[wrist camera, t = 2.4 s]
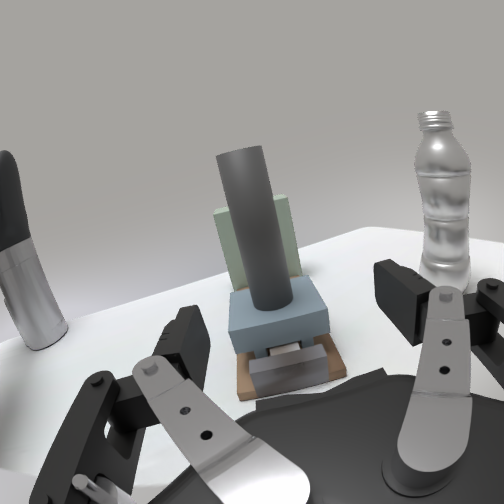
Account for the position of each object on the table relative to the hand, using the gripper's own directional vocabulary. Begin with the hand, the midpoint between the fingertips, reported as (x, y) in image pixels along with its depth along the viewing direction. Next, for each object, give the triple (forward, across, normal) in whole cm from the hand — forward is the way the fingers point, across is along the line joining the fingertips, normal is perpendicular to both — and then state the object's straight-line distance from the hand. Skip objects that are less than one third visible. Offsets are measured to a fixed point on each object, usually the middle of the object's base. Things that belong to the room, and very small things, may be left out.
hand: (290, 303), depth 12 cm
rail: (+16, +1, +11) cm, 19 cm away
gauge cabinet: (+28, +1, +11) cm, 30 cm away
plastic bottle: (+13, -19, +11) cm, 26 cm away
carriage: (+12, +1, +9) cm, 15 cm away
